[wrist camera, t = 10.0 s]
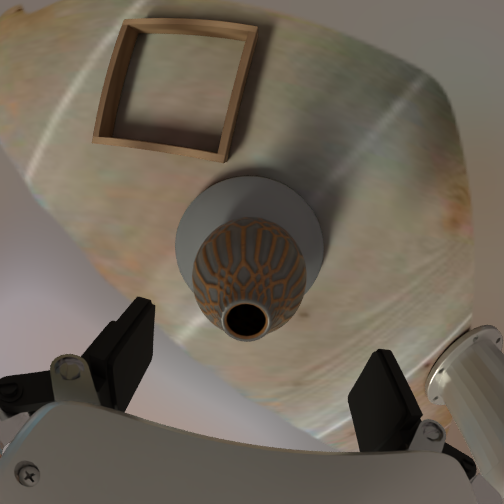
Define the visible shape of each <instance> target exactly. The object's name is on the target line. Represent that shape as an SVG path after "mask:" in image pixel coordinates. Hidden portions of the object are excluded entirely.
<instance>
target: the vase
mask: <svg viewBox="0 0 504 504" xmlns="http://www.w3.org/2000/svg"><path fill="white" fill-rule="evenodd" d="M306 281H307V272H306V265H305V261H304V257H303V255H302V252H301V250H300V248H299V246H298V244H297V243H296V241H295V240H294V239H293V237H292V236H291V235H290V234H289V233H288V232H287V231H286V230H285V229H284V228H282V227H281V226H279V225H278V224H276V223H274V222H271V221H269V220H266V219H263V218H257V217H243V218H237V219H233V220H230V221H228V222H226V223H224V224H222V225H220V226H219V227H217V228H216V229H215V230H214V231H213V232H212V233H211V234H210V235H209V236H208V237H207V238H206V239H205V240H204V242H203V243H202V245H201V247H200V248H199V250H198V252H197V255H196V257H195V260H194V265H193V271H192V283H193V290H194V294H195V298H196V301H197V303H198V305H199V307H200V309H201V311H202V312H203V314H204V315H205V316H206V317H207V318H208V319H209V320H210V321H211V322H212V323H213V324H214V325H215V326H217V327H218V328H220V329H221V330H223V331H225V333H226V334H227V335H229V336H230V337H232V338H234V339H236V340H239V341H246V342H248V341H255V340H258V339H260V338H262V337H264V336H265V335H266V334H268V333H271V332H273V331H275V330H277V329H279V328H280V327H282V326H283V325H284V324H286V323H287V322H288V321H289V320H290V319H291V318H292V316H293V315H294V314H295V312H296V311H297V309H298V308H299V306H300V304H301V301H302V299H303V296H304V293H305V288H306Z"/></svg>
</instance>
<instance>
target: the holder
mask: <svg viewBox="0 0 504 504" xmlns="http://www.w3.org/2000/svg"><path fill="white" fill-rule="evenodd" d="M144 33H160V34H186V35H200V36H210V37H219V38H227V39H234V40H241V41H246V42H245V46H244V49H243V53H242V56H241V60H240V64H239V67H238V71H237V75H236V79H235V82H234V86H233V90H232V94H231V98H230V102H229V106H228V110H227V115H226V119H225V123H224V127H223V132H222V136H221V140H220V145H219V149H218V153H216V152H210V151H205V150H200V149H194V148H188V147H182V146H176V145H170V144H163V143H156V142H149V141H141V140H133V139H125V138H115V137H112V135H113V129H114V124H115V119H116V114H117V110H118V105H119V101H120V96H121V92H122V88H123V84H124V80H125V76H126V73H127V69H128V66H129V62H130V59H131V55H132V52H133V49H134V46H135V43H136V40H137V37H138V34H144ZM257 39H258V27H257V26H251V25H245V24H238V23H231V22H223V21H213V20H201V19H182V18H143V19H125V20H124V21H123V24H122V27H121V29H120V32H119V35H118V38H117V41H116V44H115V47H114V50H113V53H112V57H111V60H110V63H109V67H108V70H107V74H106V78H105V82H104V86H103V90H102V94H101V98H100V103H99V107H98V112H97V117H96V122H95V128H94V133H93V139H92V143H96V144H105V145H114V146H123V147H130V148H138V149H145V150H152V151H159V152H165V153H171V154H177V155H183V156H189V157H195V158H200V159H205V160H211V161H216V162H221V163H225V162H227V159H228V155H229V150H230V146H231V142H232V137H233V133H234V129H235V125H236V120H237V116H238V112H239V108H240V104H241V100H242V96H243V92H244V88H245V84H246V80H247V76H248V72H249V69H250V65H251V61H252V57H253V54H254V50H255V46H256V43H257Z"/></svg>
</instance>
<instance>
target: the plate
mask: <svg viewBox="0 0 504 504" xmlns="http://www.w3.org/2000/svg"><path fill="white" fill-rule="evenodd" d="M243 217H257V218H263V219H266V220H269V221H271V222H274V223H276V224H278V225H279V226H281V227H282V228H284V229H285V230H286V231H287V232H288V233H289V234H290V235H291V236H292V237H293V239H294V240H295V241H296V243H297V244H298V246H299V248H300V250H301V252H302V255H303V257H304V261H305V265H306V272H307V281H306V288H305V293H304V295H305V294H306V293H307V291H308V290H309V289H310V288H311V286H312V285H313V283H314V281H315V280H316V278H317V276H318V273H319V271H320V268H321V264H322V261H323V253H324V242H323V236H322V231H321V228H320V225H319V222H318V220H317V218H316V216H315V214H314V212H313V211H312V209H311V208H310V206H309V205H308V204H307V203H306V202H305V201H304V200H303V198H302V197H301V196H300V195H299V194H297V193H296V192H295V191H294V190H293V189H291V188H290V187H288V186H286V185H285V184H283V183H281V182H278V181H276V180H273V179H270V178H267V177H261V176H249V175H246V176H236V177H232V178H228V179H225V180H223V181H220V182H218V183H216V184H214V185H212V186H211V187H209V188H208V189H206V190H205V191H204V192H202V193H201V194H200V195H198V196H197V197H196V198H195V200H194V201H193V202H192V203H191V204H190V205H189V207H188V208H187V209H186V211H185V213H184V214H183V216H182V218H181V220H180V223H179V226H178V229H177V234H176V241H175V251H176V259H177V264H178V267H179V270H180V273H181V275H182V277H183V279H184V280H185V282H186V283H187V285H188V286H189V288H190V289H191V290H192V291H193V293H194V290H193V283H192V271H193V265H194V260H195V257H196V255H197V252H198V250H199V248H200V247H201V245H202V243H203V242H204V240H205V239H206V238H207V237H208V236H209V235H210V234H211V233H212V232H213V231H214V230H215V229H216V228H217V227H219V226H220V225H222V224H224V223H226V222H228V221H230V220H233V219H237V218H243Z"/></svg>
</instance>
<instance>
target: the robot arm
mask: <svg viewBox="0 0 504 504" xmlns="http://www.w3.org/2000/svg"><path fill="white" fill-rule="evenodd" d="M154 318H155V305H153V304H152V302H151V300H149V299H145V298H142V297H137V298H136V299H135V300H134V301H133V302H132V303H131V305H130V306H129V307H128V308H127V309H126V311H125V312H124V313H123V314H122V315H121V316H120V318H119V319H118V320H117V321H111V322H110V323H109V324H108V325H107V326H106V327H105V328H104V329H103V331H102V332H101V333H100V334H99V335H98V337H97V338H96V339H95V340H94V341H93V343H92V344H91V345H90V346H89V347H88V349H87V350H86V351H85V352H84V354H83V355H82V356H81V357H80V356H77V355H73V354H65V355H61V356H59V357H57V358H55V359H54V361H52V363H51V365H50V370H49V371H42V372H35V373H28V374H20V375H12V376H6V377H3V378H1V379H0V504H502V499H504V354H503V353H502V352H501V350H502V344H503V339H502V335H501V333H500V332H499V331H498V330H497V328H495V327H493V326H491V325H484V326H480V327H477V328H475V329H473V330H471V331H469V332H467V333H466V334H464V335H463V336H462V337H460V338H459V339H458V340H457V341H455V342H454V343H453V344H452V345H451V346H450V347H449V348H448V349H447V350H446V351H445V352H444V353H443V354H442V356H441V357H440V358H439V359H438V361H437V362H436V364H435V365H434V366H433V368H432V370H431V372H430V374H429V376H428V378H427V381H426V386H425V392H426V395H427V397H428V399H429V400H430V402H431V403H433V404H436V405H445V404H446V406H447V408H448V410H449V411H450V413H451V415H452V417H453V419H454V420H455V422H456V424H457V426H458V428H459V430H460V432H461V433H462V435H463V437H464V439H465V441H466V443H467V445H468V447H469V449H470V451H471V453H472V455H473V457H474V459H475V462H476V463H477V465H478V467H479V469H480V472H481V474H482V475H480V474H479V473H478V474H477V475H476V465H475V462H474V461H473V459H472V458H470V457H469V456H467V455H465V454H464V453H462V452H461V451H459V450H457V449H456V448H454V447H452V446H451V445H449V444H447V443H446V442H445V440H446V432H445V430H444V428H443V427H442V426H441V425H440V424H439V423H438V422H436V421H434V420H430V419H426V420H423V421H421V419H420V418H421V417H422V415H423V414H422V412H421V410H420V408H419V406H418V403H417V401H416V399H415V397H414V395H413V393H412V391H411V389H410V387H409V385H408V383H407V381H406V379H405V377H404V375H403V373H402V371H401V369H400V367H399V365H398V363H397V361H396V359H395V357H394V355H393V353H392V352H391V350H385V349H378V350H377V351H376V352H373V353H372V355H371V357H370V359H369V360H368V362H367V364H366V366H365V368H364V369H363V371H362V373H361V374H360V376H359V378H358V380H357V381H356V383H355V385H354V386H353V388H352V390H351V391H350V393H349V395H348V403H349V407H350V411H351V415H352V419H353V423H354V428H355V432H356V436H357V441H358V445H359V449H360V452H321V451H305V450H292V449H282V448H274V447H266V446H258V445H252V444H246V443H240V442H234V441H229V440H224V439H219V438H214V437H209V436H205V435H201V434H196V433H192V432H188V431H185V430H181V429H177V428H174V427H169V426H166V425H163V424H159V423H156V422H153V421H149V420H146V419H143V418H140V417H137V416H134V415H130V414H127V413H124V412H125V410H126V408H127V406H128V405H129V403H130V401H131V399H132V397H133V395H134V393H135V391H136V389H137V387H138V385H139V383H140V381H141V379H142V377H143V375H144V374H145V372H146V370H147V368H148V366H149V364H150V362H151V360H152V356H153V336H154ZM8 443H10V444H9V446H8V447H7V448H6V450H5V452H4V453H3V455H2V450H3V448H4V447H5V446H6V445H7V444H8Z"/></svg>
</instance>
